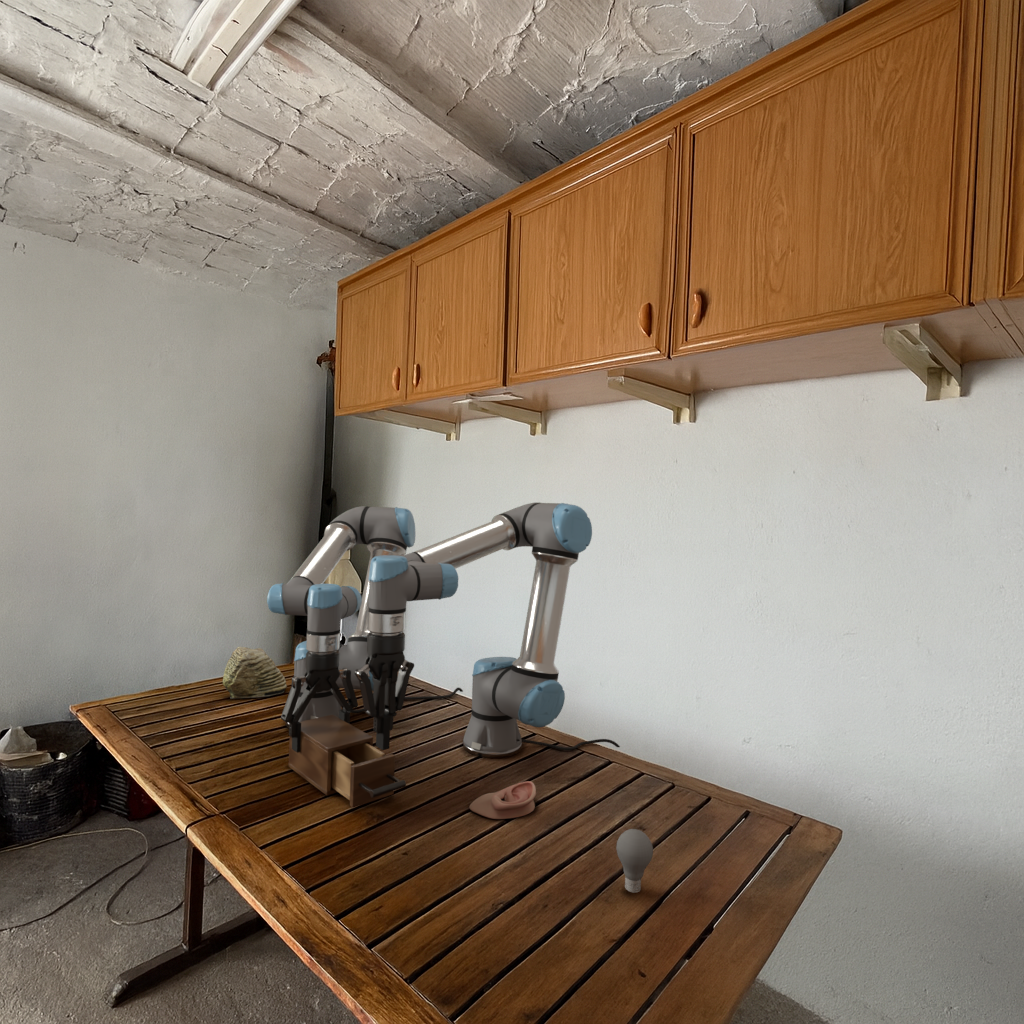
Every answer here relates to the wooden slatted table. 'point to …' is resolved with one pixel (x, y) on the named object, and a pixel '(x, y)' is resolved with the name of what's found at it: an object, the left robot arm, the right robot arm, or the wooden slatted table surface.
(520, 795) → the anatomical model
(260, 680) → the fossil
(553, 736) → the wooden slatted table surface
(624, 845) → the light bulb
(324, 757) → the cabinet
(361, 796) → the drawer
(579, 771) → the wooden slatted table surface
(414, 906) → the wooden slatted table surface
